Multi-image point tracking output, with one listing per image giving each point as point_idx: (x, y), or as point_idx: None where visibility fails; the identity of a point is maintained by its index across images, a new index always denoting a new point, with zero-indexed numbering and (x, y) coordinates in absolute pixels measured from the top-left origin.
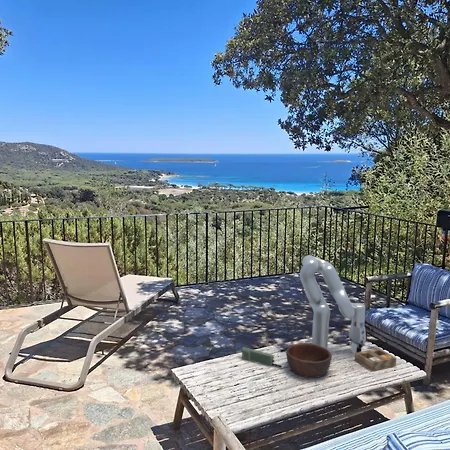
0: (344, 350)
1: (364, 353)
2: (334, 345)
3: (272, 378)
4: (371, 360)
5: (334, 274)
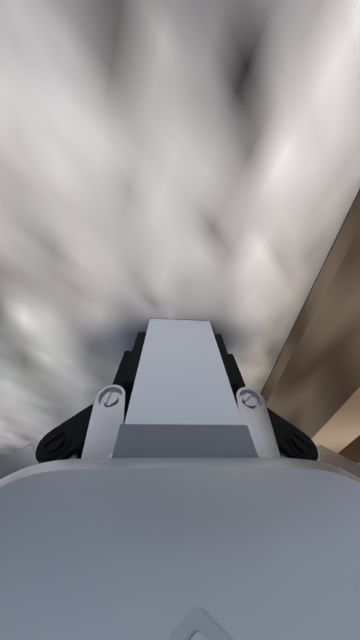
0: (108, 380)
1: (349, 441)
2: (10, 387)
3: None
4: None
5: None
